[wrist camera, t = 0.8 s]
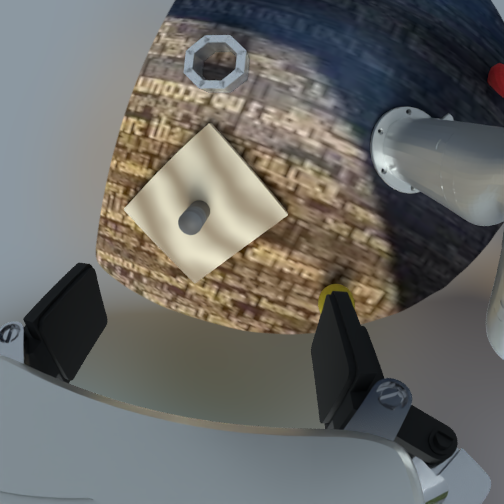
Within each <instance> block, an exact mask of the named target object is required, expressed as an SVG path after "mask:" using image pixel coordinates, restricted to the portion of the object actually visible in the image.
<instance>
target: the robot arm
mask: <svg viewBox="0 0 504 504" xmlns="http://www.w3.org/2000/svg"><path fill="white" fill-rule="evenodd" d="M406 111H407V113H406ZM378 130H380V132H379V133H378ZM370 153H371V159H372V162H373V165H374V168H375V169H376V171H377V173H378V175H379V176H380V177H381V178H382V180H383V181H384V182H385V183H387V184H388V185H389V186H390V187H392V188H394V189H395V190H398V191H400V192H404V193H417V192H422V193H424V194H426V195H427V196H429V197H431V198H432V199H434V200H436V201H437V202H439V203H440V204H442V205H444V206H445V207H447V208H448V209H450V210H451V211H453V212H454V213H456V214H457V215H459V216H460V217H462V218H463V219H465V220H467V221H468V222H470V223H473V224H476V225H481V226H489V225H494V224H498V223H500V222H503V221H504V127H496V126H488V125H482V124H475V123H467V122H459V121H454V120H453V117H452V116H451V115H450V114H449V113H448V114H446V115H445V116H443V117H442V118H441V119H439V118H431V117H430V116H429V115H428V114H427V113H425V112H424V111H422V110H420V109H417V108H413V107H397V108H394V109H391V110H389V111H388V112H386V113H385V114H383V116H382V117H381V118H380V119H379V120H378V121H377V123H376V125H375V126H374V129H373V132H372V135H371V141H370ZM382 168H383V171H382V172H381V169H382ZM411 186H412V187H411ZM24 322H25V324H26V326H25V327H23V325H22V324H21V323H20V322H17V321H13V322H9V323H6V324H5V325H3V326H2V327H1V328H0V504H481V503H482V502H483V501H484V499H485V498H486V496H487V495H488V493H489V490H490V487H491V481H490V478H489V476H488V475H487V473H485V471H484V470H483V469H482V468H481V467H480V466H479V465H478V464H477V463H476V462H475V461H474V460H473V459H472V458H471V456H469V454H468V453H467V452H466V451H465V450H464V449H463V448H462V449H460V450H459V449H458V448H457V437H456V434H455V433H454V431H453V430H452V429H451V428H450V427H448V426H447V425H445V424H443V423H442V422H440V421H438V420H436V419H434V418H433V417H431V416H429V415H428V414H426V413H424V412H423V411H421V410H419V409H418V408H416V407H414V406H413V405H411V403H412V394H411V392H410V390H409V388H408V387H407V386H406V385H405V384H404V383H402V382H401V381H399V380H396V379H391V378H386V379H384V376H383V373H382V370H381V367H380V364H379V362H378V359H377V356H376V353H375V350H374V348H373V345H372V342H371V340H370V337H369V334H368V332H367V329H366V328H365V327H364V326H361V325H360V322H359V320H358V317H357V314H356V312H355V309H354V307H353V304H352V301H351V299H350V296H349V294H348V292H344V291H332V293H331V294H327V295H326V298H325V302H324V305H323V309H322V312H321V316H320V319H319V323H318V326H317V329H316V333H315V336H314V339H313V343H312V347H311V355H312V362H313V370H314V377H315V385H316V393H317V401H318V409H319V418H320V422H321V423H325V429H306V428H274V427H259V426H248V425H237V424H228V423H220V422H213V421H206V420H200V419H193V418H187V417H183V416H178V415H173V414H168V413H163V412H159V411H155V410H150V409H146V408H142V407H139V406H135V405H131V404H127V403H124V402H120V401H117V400H114V399H111V398H108V397H105V396H102V395H98V394H96V393H93V392H90V391H87V390H84V389H81V388H79V387H76V386H74V385H71V384H69V382H70V381H71V380H73V379H74V377H75V375H76V374H77V372H78V370H79V369H80V367H81V365H82V364H83V362H84V360H85V359H86V357H87V355H88V354H89V352H90V350H91V349H92V347H93V346H94V344H95V342H96V341H97V339H98V338H99V336H100V335H101V333H102V331H103V330H104V328H105V327H106V325H107V316H106V312H105V309H104V305H103V301H102V297H101V293H100V289H99V285H98V281H97V276H96V272H95V269H94V268H93V267H92V266H91V265H90V264H85V263H78V264H76V266H74V267H73V268H72V269H71V270H70V271H69V272H68V273H67V274H66V275H65V276H64V277H63V278H62V279H61V280H60V281H59V282H58V283H57V284H56V285H55V286H54V287H53V288H52V289H51V290H50V291H49V292H48V293H47V294H46V295H45V296H44V297H43V298H42V299H41V300H40V301H39V302H38V303H37V304H36V305H35V306H34V307H33V309H32V310H31V311H30V312H29V313H28V314H27V315H26V316H25V317H24ZM486 331H487V336H488V339H489V341H490V344H491V346H492V347H493V349H494V350H495V351H496V353H497V354H498V355H499V356H500V357H501V358H502V359H503V360H504V233H503V240H502V250H501V255H500V260H499V265H498V269H497V274H496V278H495V282H494V286H493V290H492V294H491V297H490V301H489V306H488V310H487V316H486Z"/></svg>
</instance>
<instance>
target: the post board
mask: <svg viewBox="0 0 504 504" xmlns="http://www.w3.org/2000/svg"><path fill="white" fill-rule="evenodd" d="M124 210H125V212H126V213H127V214H128V215H129V216H130V217H131V218H132V219H133V220H134V221H135V222H136V224H137V225H138V226H139V227H140V228H141V229H142V230H143V231H144V232H145V233H146V234H147V235H148V236H149V237H150V238H151V240H152V241H153V242H154V243H155V244H156V245H157V246H158V247H159V248H160V249H161V250H162V251H163V252H164V253H165V254H166V255H167V256H168V257H169V258H170V259H171V260H172V261H173V262H174V263H175V264H176V265H177V266H178V267H179V268H180V269H181V270H182V271H183V272H184V273H185V274H186V275H187V276H188V277H189V278H190V279H191V280H192V281H193V282H194V283H196V282H197V281H199V280H200V279H201V278H203V277H204V276H206V275H207V274H208V273H210V272H211V271H212V270H214V269H215V268H216V267H218V266H219V265H220V264H222V263H223V262H224V261H226V260H227V259H229V258H230V257H231V256H233V255H234V254H235V253H237V252H238V251H239V250H241V249H242V248H243V247H245V246H246V245H248V244H249V243H250V242H252V241H253V240H254V239H256V238H257V237H258V236H260V235H261V234H263V233H264V232H265V231H267V230H268V229H269V228H271V227H272V226H273V225H275V224H276V223H278V222H279V221H280V220H282V219H283V218H284V217H286V216H287V215H288V212H287V210H286V209H285V208H284V207H283V205H282V204H281V203H280V202H279V201H278V199H277V198H276V197H275V196H274V194H273V193H272V192H271V191H270V190H269V188H268V187H267V186H266V185H265V184H264V182H263V181H262V180H261V179H260V178H259V177H258V175H257V174H256V173H255V172H254V171H253V169H252V168H251V167H250V166H249V165H248V164H247V163H246V161H245V160H244V159H243V158H242V157H241V156H240V154H239V153H238V152H237V151H236V150H235V149H234V148H233V146H232V145H231V144H230V143H229V142H228V141H227V140H226V139H225V137H224V136H223V135H222V134H221V133H220V132H219V131H218V130H217V129H216V128H215V126H214V125H213V124H212V123H209V124H208V125H207V126H205V127H204V128H203V129H202V130H201V131H200V132H199V133H198V134H197V135H195V136H194V137H193V138H192V139H191V140H190V141H189V142H188V143H187V144H186V145H185V146H184V147H183V148H182V149H181V150H179V151H178V152H177V153H176V154H175V155H174V156H173V157H172V158H171V159H170V160H169V161H168V162H167V163H166V164H165V165H164V166H163V167H162V168H161V169H160V170H159V171H158V172H157V174H156V175H155V176H154V177H153V178H152V179H151V180H150V181H149V182H148V183H147V184H146V185H145V186H144V187H143V188H142V190H141V191H140V192H139V193H138V194H137V195H136V196H135V197H134V198H133V200H132V201H131V202H130V203H129V204H128V205H127V206H126V208H125V209H124Z"/></svg>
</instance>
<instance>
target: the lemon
mask: <svg viewBox="0 0 504 504" xmlns="http://www.w3.org/2000/svg"><path fill="white" fill-rule="evenodd" d="M332 291H344V292H348V294H349V296H350V299H351V301H352V304H353V307H354V309H355V302H354V298H353V295H352V293H351V292H350V291H349V289H348V288H346V287H345V286H343V285H340V284H331V285H329V286H327V287H325V288H324V289H323V290H322V292H321V293H320V296H319V300H318V307H319V310H320V313H321V312H322V309H323V305H324V302H325V298H326V295H327V294H331V293H332Z"/></svg>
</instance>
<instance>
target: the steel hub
mask: <svg viewBox="0 0 504 504" xmlns="http://www.w3.org/2000/svg"><path fill="white" fill-rule="evenodd" d="M215 52H232V53H233V54H234V55H235V56H236V57H237V58H236V68H235V70H234V71H233V72H231V73H230V74H229V75H228V76H226V77H225V78H224V79H223V80H221V81H216V80H206V79H205V78H204V77H203V76H202V75H203V65H204V61H205V60H207V59H208V58H209V57H210V56H212V55H213V54H214V53H215ZM249 61H250V60H249V57H248V54H247V51H246V50H245V49H244V48H243V47H242V46H241V45H240V44H239V43H238V42H237V41H236V40H235V39H234V38H232V37H231V36H230V35H205V36H204V37H202V38H201V39H200V40H199V41H197V42H196V43H195V44H194V45H193V46H191V47H190V48H189V49H188V50H187V51H186V56H185V65H184V74H185V75H186V76H187V77H188V78H189V79H190V80H191V81H192V82H193V83H194V84H195V85H196V86H197V87H198V88H199V89H202V90H204V91H206V92H208V93H231V92H232V91H234V90H235V89H236V88H238V87H239V86H240V85H241V84H243V83H244V82H245V81H246V80H248V71H249Z"/></svg>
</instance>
